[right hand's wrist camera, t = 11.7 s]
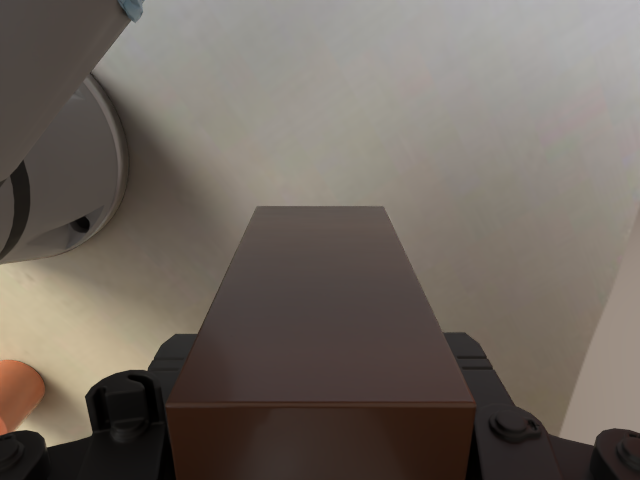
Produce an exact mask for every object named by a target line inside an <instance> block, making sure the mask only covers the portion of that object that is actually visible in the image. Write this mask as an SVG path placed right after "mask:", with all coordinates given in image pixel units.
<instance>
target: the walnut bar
mask: <svg viewBox="0 0 640 480" xmlns="http://www.w3.org/2000/svg"><path fill="white" fill-rule="evenodd" d="M165 407H166V414H167V421H168V428H169V435H170V441H171V448H172V455H173V462H174V469H175V476H176V480H465V478H466V472H467V465H468V458H469V452H470V445H471V439H472V432H473V425H474V419H475V412H476V402H475V400H474V398H473V396H472V394H471V392H470V390H469V388H468V385H467V383H466V381H465V379H464V377H463V375H462V373H461V370H460V368H459V366H458V364H457V362H456V360H455V358H454V356H453V353H452V351H451V349H450V347H449V345H448V343H447V341H446V339H445V336H444V334H443V332H442V330H441V328H440V326H439V324H438V321H437V319H436V317H435V315H434V313H433V311H432V309H431V307H430V304H429V302H428V300H427V298H426V296H425V294H424V292H423V290H422V287H421V285H420V283H419V281H418V279H417V277H416V275H415V272H414V270H413V268H412V266H411V264H410V262H409V260H408V258H407V255H406V253H405V251H404V249H403V247H402V245H401V243H400V241H399V238H398V236H397V234H396V232H395V230H394V228H393V226H392V223H391V221H390V219H389V217H388V215H387V213H386V211H385V209H384V207H382V206H257V207H256V209H255V211H254V213H253V216H252V218H251V220H250V222H249V224H248V226H247V229H246V231H245V233H244V235H243V237H242V239H241V241H240V244H239V246H238V248H237V250H236V252H235V254H234V257H233V259H232V261H231V263H230V265H229V267H228V270H227V272H226V274H225V276H224V278H223V280H222V283H221V285H220V287H219V289H218V291H217V293H216V296H215V298H214V300H213V302H212V304H211V306H210V309H209V311H208V313H207V315H206V317H205V319H204V322H203V324H202V326H201V328H200V330H199V332H198V335H197V337H196V339H195V341H194V343H193V345H192V348H191V350H190V352H189V354H188V356H187V358H186V361H185V363H184V365H183V367H182V369H181V371H180V374H179V376H178V378H177V380H176V382H175V384H174V387H173V389H172V391H171V393H170V395H169V397H168V400H167V402H166V404H165Z"/></svg>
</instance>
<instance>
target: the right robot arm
mask: <svg viewBox="0 0 640 480" xmlns="http://www.w3.org/2000/svg"><path fill="white" fill-rule="evenodd" d="M143 2H144V0H0V264H6V263H13V262H21V261H28V260H35V259H41V258H47V257H52V256H56V255H59V254H62V253H65V252H68V251H70V250H72V249H74V248H76V247H77V246H79V245H80V244H82V243H84V242H85V241H86V240H88V239H89V238H91V237H92V236H93V235H95V234H96V233H97V232H99V231H100V230H101V229H102V228H103V227H104V226H105V225H106V224H107V223H108V222H109V221H110V219H111V218H112V217H113V216H114V214H115V212H116V211H117V209H118V208H119V205H120V203H121V201H122V199H123V196H124V193H125V190H126V186H127V181H128V173H129V156H128V147H127V142H126V137H125V134H124V130H123V127H122V124H121V122H120V119H119V117H118V114H117V112H116V110H115V108H114V106H113V104H112V103H111V101H110V99H109V98H108V96H107V94H106V93H105V92H104V90H103V89H102V88H101V86H100V85H99V83H98V82H97V81H96V80H95V79H94V78H93V77H92V75H91V74H90V72H91V71H92V70H93V68H94V67H95V66H96V64H97V63H98V62H99V61H100V59H101V58H102V57H103V56H104V54H105V53H106V52H107V50H108V49H109V48H110V47H111V45H112V44H113V43H114V42H115V40H116V39H117V38H118V37H119V35H120V34H121V33H122V31H123V30H124V29H125V28H126V26H127V25H128V24H129V23H130V21H131V20H132V21H133V22H135V23H136V22H137V21H138V19H139V18H140V17H141V15H142V13H143V9H142V3H143ZM443 334H444V336H445V339H446V341H447V343H448V345H449V347H450V349H451V351H452V353H453V356H454V358H455V360H456V362H457V364H458V366H459V368H460V370H461V373H462V375H463V377H464V379H465V381H466V383H467V385H468V388H469V390H470V392H471V394H472V396H473V398H474V400H475V402H476V412H475V419H474V425H473V432H472V439H471V445H470V452H469V458H468V465H467V472H466V478H465V480H640V433H637V432H634V431H631V430H625V429H616V428H614V429H609V430H604V431H602V432H601V433H600V434H599V435H598V436H597V437H596V441H595V444H594V446H592V445H588V444H584V443H579V442H575V441H571V440H566V439H562V438H559V437H556V436H553V435H550V434H548V433H547V431H546V429H545V428H544V426H543V424H542V423H541V422H540V421H539V420H538V419H537V418H536V417H534V416H533V415H532V414H531V413H529V412H527V411H525V410H523V409H521V408H519V407H516V406H515V404H514V403H513V401H512V399H511V398H510V396H509V394H508V392H507V391H506V389H505V387H504V386H503V384H502V382H501V380H500V379H499V377H498V375H497V374H496V372H495V370H493V367H492V365H491V363H490V362H489V360H488V359H487V358H486V355H485V353H484V351H483V350H482V348H481V346H480V344H479V343H478V342H476V341H475V340H474V339H472V338H471V337H470V336H469V335H467V334H466V333H443ZM197 335H198V334H175V335H174V336H172V337H171V338H170V339H169V340H167V341H166V342H165V343H163V344H162V345H161V347H160V348H159V350H158V352H157V354H156V355H155V357H154V360H152V362H151V364H150V366H149V367H148V371H145V370H128V371H124V372H119V373H115V374H113V375H111V376H109V377H106V378H104V379H102V380H101V381H99V382H98V383H97V384H95V385H94V386H93V387H91V389H90V390H89V392H88V393H87V394H86V396H85V399H86V404H87V408H88V413H89V417H90V422H91V426H92V431H93V434H92V436H90V437H87V438H84V439H80V440H77V441H73V442H69V443H64V444H60V445H56V446H52V447H46V443H45V439H44V438H43V437H42V436H41V435H40V434H39V433H38V432H33V431H28V430H23V431H14V432H9V433H6V434H3V435H0V480H176V476H175V469H174V462H173V455H172V448H171V441H170V435H169V428H168V421H167V414H166V407H165V404H166V402H167V400H168V397H169V395H170V393H171V391H172V389H173V387H174V384H175V382H176V380H177V378H178V376H179V374H180V371H181V369H182V367H183V365H184V363H185V361H186V358H187V356H188V354H189V352H190V350H191V348H192V345H193V343H194V341H195V339H196V337H197Z"/></svg>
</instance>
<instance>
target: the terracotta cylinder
mask: <svg viewBox="0 0 640 480" xmlns="http://www.w3.org/2000/svg"><path fill="white" fill-rule="evenodd" d="M44 394H45V385H44V382H43V380H42V378H41V376H40V375H39V374H38V373H37V372H36V371H35V370H34V369H33V368H32V367H30V366H28V365H26V364H24V363H22V362H19V361H14V360H3V361H0V435H3V434H6V433H9V432H14V431H16V430H17V429H18V427H19V426H20V425H21V424H22V423H23V422H24V420H25V419H26V418H27V417H28V416H29V415H30V413H31V412H32V411H33V410H34V409H35V407H36V406H37V405H38V404H39V403H40V402H41V400H42V399H43V397H44Z"/></svg>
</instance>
